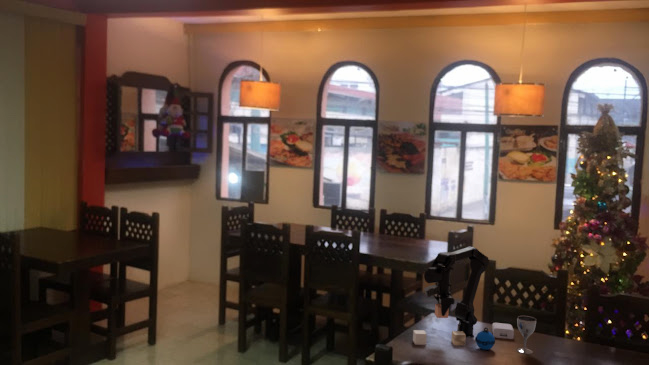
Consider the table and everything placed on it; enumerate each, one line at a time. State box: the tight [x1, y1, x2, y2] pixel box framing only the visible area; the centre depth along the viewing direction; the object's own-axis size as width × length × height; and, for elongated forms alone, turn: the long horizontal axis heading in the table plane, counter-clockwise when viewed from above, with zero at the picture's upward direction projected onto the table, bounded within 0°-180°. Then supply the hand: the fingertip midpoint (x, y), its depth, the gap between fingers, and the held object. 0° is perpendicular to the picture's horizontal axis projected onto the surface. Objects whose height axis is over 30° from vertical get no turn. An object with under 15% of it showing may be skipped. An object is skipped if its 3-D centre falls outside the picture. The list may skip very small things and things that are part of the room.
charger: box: [491, 322, 515, 340], centre depth 296 cm, size 5×9×15 cm
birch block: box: [450, 330, 466, 346], centre depth 278 cm, size 5×5×5 cm
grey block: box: [412, 329, 428, 346], centre depth 277 cm, size 5×5×5 cm
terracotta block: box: [434, 303, 450, 319], centre depth 279 cm, size 5×5×5 cm
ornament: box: [474, 327, 496, 351], centre depth 272 cm, size 9×9×10 cm
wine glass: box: [515, 315, 537, 355], centre depth 272 cm, size 8×8×15 cm
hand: (441, 313), depth 279 cm, fingers closed on terracotta block, 5 cm apart
